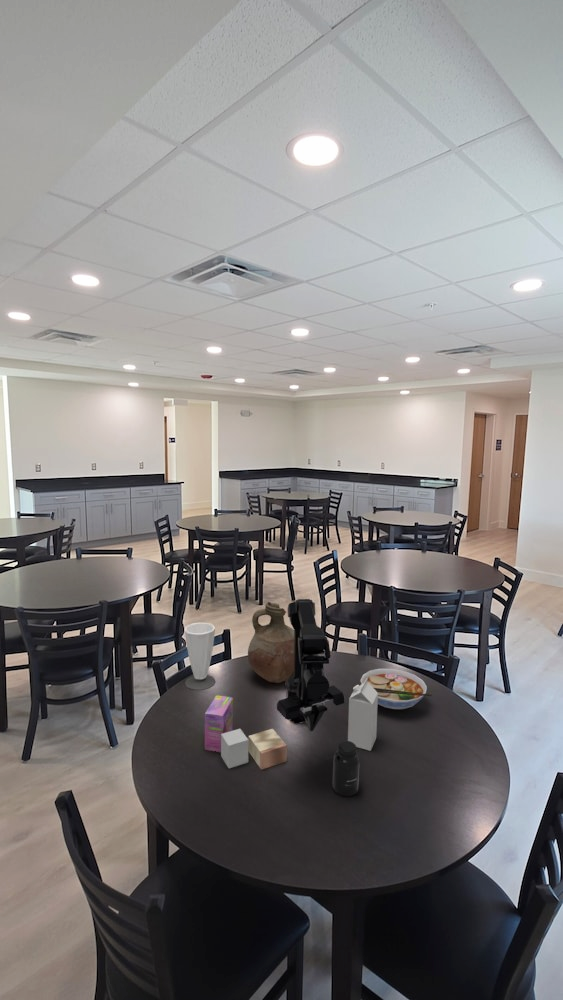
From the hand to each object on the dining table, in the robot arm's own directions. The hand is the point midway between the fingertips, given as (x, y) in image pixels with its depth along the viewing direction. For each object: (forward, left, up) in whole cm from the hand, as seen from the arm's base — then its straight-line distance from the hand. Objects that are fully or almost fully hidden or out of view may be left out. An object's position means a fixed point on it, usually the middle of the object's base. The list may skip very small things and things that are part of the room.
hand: (310, 730), depth 133 cm
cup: (+12, -61, -12) cm, 63 cm away
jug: (-15, -51, -12) cm, 55 cm away
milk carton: (-21, -4, -12) cm, 25 cm away
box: (+18, -24, -12) cm, 32 cm away
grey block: (+17, -14, -12) cm, 25 cm away
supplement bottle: (-5, +10, -12) cm, 17 cm away
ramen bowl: (-44, -17, -12) cm, 49 cm away
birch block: (+8, -7, -10) cm, 14 cm away
